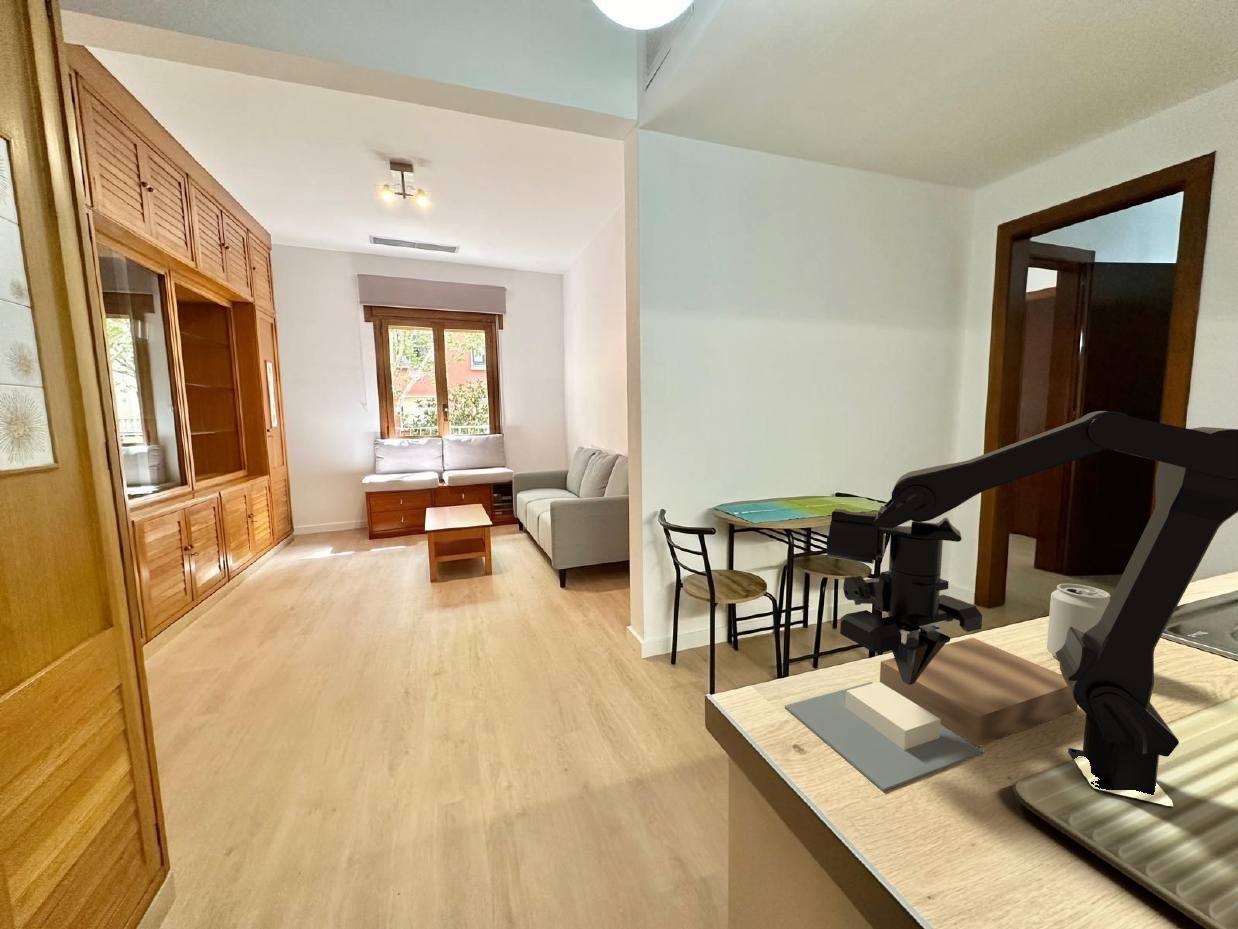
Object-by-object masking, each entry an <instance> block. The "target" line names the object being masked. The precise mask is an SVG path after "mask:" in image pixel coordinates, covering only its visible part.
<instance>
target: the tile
mask: <svg viewBox="0 0 1238 929" xmlns="http://www.w3.org/2000/svg"><path fill="white" fill-rule="evenodd" d="M846 708H847V709H848V710H850V711H851V712H852V713H854V714H855V715H857V716H858V717H859V718H861V719H862V720H863V721H865V722H866V723H868V724H869V725H870V726H872V727H873V728H875V729H876V730H877V731H879V732H880V733H881V734H883V735H884V736H886V737H887V738H888V739H890V740H891V741H892V742H894V743H895V744H897V745H898V746H899V747H901V748H902V749H904V750H906V749H909V748H912V747H914V746H917V745H920V744H923V743H926V742H929V741H932V740H934V739H937V738H940V725H941V724H940V721H941V719H940V718H938V717H936V716H935V715H933V714H931V713H930V712H928V711H927V710H925V709H923V708H922V707H920V706H918V705H917V704H915V703H913V702H912V701H910V700H909V699H907V698H905V697H904V696H902V695H900V694H899V693H897V692H895V691H894V690H892V689H890V688H889V687H887V686H886V685H884V684H882V683H881V682H880V681H876V682H872V684H869V685H865V686H861V687H858V688H854V689H850V690H847V691H846Z"/></svg>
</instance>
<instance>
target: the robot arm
mask: <svg viewBox="0 0 1238 929" xmlns="http://www.w3.org/2000/svg"><path fill="white" fill-rule="evenodd" d="M1110 450H1113V451H1116V452H1119V453H1123V454H1127V455H1130V456H1135V457H1139V458H1144V459H1147V460H1151V461H1154V462H1158V465H1157V470H1156V474H1155V507H1154V509H1153V512H1152V514H1151V516H1150V518H1149V520H1148V522H1147V524H1146V525H1145V528H1144V530H1143V533H1142V534H1141V537H1140V539H1139V540H1138V542H1137V544H1136V547H1135V549H1134V551H1133V553H1132V555H1131V556H1130V559H1129V561H1128V563H1127V564H1126V567H1125V569H1124V571H1123V572H1122V575H1121V576H1120V579H1119V581H1118V583H1117V584H1116V587H1115V589H1114V592H1113V593H1112V596H1110V598H1109V599H1110V601H1109V603H1108V605H1107V607H1106V609H1105V612H1104V614H1103V616H1102V618H1101V620H1100V621H1099V622H1098V623H1097V624H1096V625H1095V626H1094V627H1092V628H1091V629H1089V630H1088V631H1086V632H1085V633H1083V632H1081V631H1079V630H1077V629H1075V628H1073V627H1069V630H1068V632H1067V637H1066V641H1065V644H1064V645H1063V647H1062V648H1061V649H1060V650H1059V651H1057V652H1056V653H1055V654H1056V656H1057V658H1058V659H1057V660H1058V662H1059V670H1060V674H1061V675H1063V677H1064V680H1065V682H1066V684H1067V686H1068V688H1069V690H1070V692H1071V694H1072V696H1073V698H1074V700H1075V701H1076V703H1077V704H1078V706H1077V707H1078V708H1080V709H1081V710H1082V711H1083V712H1084V713H1085V714H1086V715H1085V723H1084V731H1083V732H1084V734H1083V741H1082V742H1083V743H1082V749H1079V748H1078V749H1076V748H1072V747H1069V748H1067V754H1068V755H1069V757H1070V758H1071V759H1072V760H1073V759H1075V758H1077V757H1078V756H1084V757H1086V758H1087V759H1088V760H1089V762H1090V766H1091V773H1092V774H1093V775H1095V777H1098V778H1099V779H1100V780H1099V779H1098V781H1095V783H1097V784H1099V786H1098V785H1095V787H1098V788H1099V789H1100V788H1101V789H1106V790H1136V791H1139V792H1140V791H1141V792H1143V793H1147V794H1151V795H1154V792H1155V786H1156V782H1157V779H1158V769H1159V762H1160V756H1162V757H1166V758H1167V757H1169V756H1170V755H1171V754H1172V753H1173V752H1174V750H1175V749H1176V748H1177V746H1178V745H1179V744H1180V740H1179V739H1178V738H1177V737H1176V735H1175V734H1174V732H1173V731H1172V729H1171V728H1170V726H1168V724H1167V723H1166V722H1165V721H1164V720H1165V719H1163V717H1162V716H1161V715H1160V714H1159V712H1158V711H1157V709H1156V708H1155V706H1154V705H1153V703H1152V702H1151V698H1152V694H1153V690H1154V685H1155V658H1154V656H1155V655H1154V654H1155V650H1156V647H1157V644H1158V643H1159V641H1160V639H1161V637H1163V633H1164V632H1165V629H1166V628H1167V626H1168V624H1169V622H1170V620H1171V618H1172V617H1173V614H1174V613H1175V612H1176V609H1177V608H1178V605H1179V604H1180V602H1181V600H1182V598H1183V597H1184V594H1185V592H1186V590H1187V589H1188V586H1189V584H1190V583H1191V581H1192V579H1193V577H1194V575H1195V573H1196V572H1197V569H1198V567H1199V566H1200V564H1201V562H1202V560H1203V558H1204V556H1206V555H1205V554H1206V553H1207V551H1208V549H1209V547H1210V545H1211V543H1212V541H1213V539H1214V537H1215V536H1216V534H1217V532H1218V530H1219V528H1220V527H1221V526H1222V525H1223V524H1224V523H1225V522H1226V521H1227V520H1229V519H1231V518H1232V517H1233V516H1235V515H1237V513H1238V429H1237V428H1225V427H1224V428H1223V427H1209V426H1208V427H1207V426H1199V427H1193V428H1186V427H1181V426H1177V425H1173V424H1167V423H1164V422H1163V423H1161V422H1158V421H1151V420H1147V419H1142V418H1138V417H1133V416H1129V415H1128V414H1126V413H1124V412H1120V411H1112V410H1109V411H1108V410H1107V411H1106V410H1097V411H1093V412H1089V413H1086V414H1085V415H1084V416H1082V417H1080V418H1078V419H1076V420H1074V421H1071V422H1068V423H1066V424H1063V425H1060V426H1058V427H1055V428H1052V429H1049V430H1047V431H1044V432H1041V433H1038V434H1035V435H1033V436H1030V437H1028V438H1024V439H1022V440H1020V441H1017V442H1014V443H1011V444H1009V445H1006V446H1003V447H1000V448H998V449H995V450H993V451H990V452H987V453H984V454H982V455H980V456H976V457H974V458H971V459H969V460H964V461H960V462H953V463H948V464H947V463H946V464H942V465H936V466H931V467H927V468H922V469H916V470H912V471H909V472H906V473H905V474H902V475H901V476H900V477H899V478H898V479H897V481H896V483H895V485H894V487H893V490H892V492H891V498H890V499H889V500H888V501H887V502H886V503H885V504H884V505H881V506H880V507H879V510H878V511H877V513H869V512H868V513H867V512H858V511H857V512H856V511H849V510H846V509H839V508H835V509H834V510H832V512H831V520H830V524H829V529H828V535H827V536H826V554H827V557H828V558H830V559H838V560H843V561H851V562H856V563H857V562H858V563H866V564H872V565H873V564H874V563H875V561H878V557H879V558H884V557H885V548H886V547H885V546H886V535H889V536H890V537H889V538H890V539H889V556H888V557H889V559H888V560H889V561H888V562H889V563H888V570H884V571H881V572H880V573H879V575H878V577H877V578H868V579H864V577H863V576H862V575H856V576H855V575H852V576H845V577H844V579H843V587H842V589H843V594H844V597H845V599H846V600H847V601H853V602H854V605H855V606H860V605H862V604H864V605H865V604H866V605H867V604H868V605H869V604H870V605H871V604H872V605H874V609H875V610H877V611H880V612H882V613H883V612H886V613H887V616H885V617H882V616H879V615H878V614H875V613H874V612H871V611H869V610H867V609H865V610H859V611H856V612H850V613H846V614H844V615H842V616H841V617H840V631H839V634H840V635H841V636H843V637H845V638H847V639H849V640H851V641H853V642H854V643H856V644H858V645H859V646H862V647H863V648H865V649H866V650H868V651H870V652H872V653H876V654H877V653H878V654H882V653H886V652H892V655H893V658H895V661H896V664H897V667H898V670H899V672H900V675H901V678H902V681H903V682H904V683H906V684H908V685H911V684H914V683H915V682H916V680H917V679H918V678H919V676H920V675H921V674H922V672H923V671H924V669H925V668H926V667H927V665H928V664H929V663H930V662H931V660H932V659H933V658H934V657H935V655H936V654H937V653H938V652H939V651H940V649H941V648H942V647H943V646H944V645H946V644H948V643H949V642H950V641H951V637H950V636H948V635H946V634H944V633H942V632H941V627H939V625H940V624H944V623H945V624H946V623H949V622H953V620H957V621H958V622H959V627H960V628H961V630H963V631H964V632H966V633H969V632H970V633H971V632H973V631H977V630H982V627H983V624H982V623H983V615H982V613H981V612H980V610H979V609H978V607H977V606H976V605H973V604H971V603H968V602H965V601H961V600H960V599H957V598H954V597H951V596H948V595H946V594H941V591H945V590H948V589H949V580H946V579H943V578H942V577H941V576H942V575H941V574H942V573H941V572H942V559H943V557H942V556H943V544H944V543H943V542H944V541H948V542H957V543H959V542H961V541H962V539H963V538H962V534H961V531H960V530H959V529H958V528H956V527H955V526H954V525H952V523H951V522H950V520H949V518H947V517H944V518H942V520H940V521H939V522H936V523H935V522H928V521H932V520H934V519H936V518H938V517H940V516H942V515H944V514H946V513H947V512H950V511H951V510H953V509H957V507H959V506H961V505H963V504H964V503H966V502H967V501H969V500H970V499H972V498H974V497H975V496H977V495H979V494H981V493H983V492H985V491H987V490H990V489H993V488H996V487H999V486H1002V485H1005V484H1008V483H1011V482H1014V481H1018V480H1020V479H1023V478H1026V477H1029V476H1032V475H1033V476H1034V475H1036V474H1039V473H1041V472H1044V471H1047V470H1050V469H1053V468H1056V467H1059V466H1062V465H1065V464H1069V463H1071V462H1075V461H1077V460H1081V459H1083V458H1087V457H1089V456H1093V455H1094V454H1098V453H1101V452H1104V451H1105V452H1106V451H1110ZM910 521H911V524H910V525H911V526H909V525H908V526H906V525H905V526H904V525H903V524H905V523H908V522H910ZM902 525H903V526H902ZM940 594H941V595H940ZM950 643H951V642H950ZM1093 782H1094V781H1093ZM1093 782H1091V784H1093V785H1094V783H1093Z"/></svg>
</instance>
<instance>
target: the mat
mask: <svg viewBox="0 0 1238 929" xmlns="http://www.w3.org/2000/svg"><path fill="white" fill-rule="evenodd" d="M872 683H873V682H872V681H869V682H866V683H863V684H862V683H861V684H859V685H855V686H852V687H847V688H845V689H839V690H837V691H834V692H830V693H827V694H826V693H825V694H822V695H819V696H815V697H811V698H808V699H805V700H801V701H796V702H794V703H790V704H785V705H784V709H785V710H786V711H788V712H789V713H790V714H791V715H792V716H794V717H795V718H796V719H797V720H798V721H800V722H801V723H802V724H803V725H804V726H805V727H807V728H808V729H809V730H810V731H811V732H812V733H814V734H815V735H816V736H817V737H818V738H820V739H821V740H822V741H823V743H825V744H826V745H828V746H829V747H830V748H831V749H832V750H834V751H835V752H836V753H837V754H839V756H841V757H842V758H843V759H844V760H845V761H846V762H848V763H849V764H850V765H851V766H853V767H854V768H855V770H857V771H858V772H859V773H860V774H862V775H863V776H864V777H865V778H866V779H868V780H869V781H870V782H871V783H873V785H875V786H876V787H877V788H878V789H879V790H881V791H882V792H886V791H887V790H891V789H894V788H897V787H898V786H901V785H905V784H907V783H909V782H911V781H914V780H917V779H920V778H923V777H925V776H928V775H930V774H933V773H936V772H938V771H940V770H944V769H946V768H948V767H951V766H953V765H956V764H960V763H961V762H965V761H966V760H970V759H972V758H975V757H978V756H980V755H982V754H984V751H983V750H982V749H980V748H979V747H976V746H974V745H973V744H971V743H970V742H968V741H966V740H965V739H963V738H962V737H960V736H958V735H957V734H955V733H953V732H952V731H950V730H949V729H947V728H945V727H944V726H942V725H941V724H940V738H937V739H934V740H932V741H929V742H926V743H923V744H920V745H917V746H914V747H912V748H909V749H906V750H904V749H902V748H901V747H899V746H898V745H897V744H895V743H894V742H892V741H891V740H890V739H888V738H887V737H886V736H884V735H883V734H881V733H880V732H879V731H877V730H876V729H875V728H873V727H872V726H870V725H869V724H868V723H866V722H865V721H863V720H862V719H861V718H859V717H858V716H857V715H855V714H854V713H852V712H851V711H850V710H848V709H847V708H846V691H847V690H850V689H854V688H858V687H861V686H865V685H869V684H872Z"/></svg>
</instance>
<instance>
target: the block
mask: <svg viewBox="0 0 1238 929" xmlns="http://www.w3.org/2000/svg"><path fill="white" fill-rule="evenodd" d="M879 669H880V670H879V682H881V683H882V684H884V685H886V686H887V687H889V688H890V689H892V690H894V691H895V692H897V693H899V694H900V695H902V696H904V697H905V698H907V699H909V700H910V701H912V702H913V703H915V704H917V705H918V706H920V707H922V708H923V709H925V710H927V711H928V712H930V713H931V714H933V715H935V716H936V717H938V718H940V719H941V721H940V725H942V726H943V727H945V728H947V729H948V730H950V731H951V732H953V733H955V734H956V735H958V736H959V737H961V738H963V739H964V740H966V741H967V742H969V743H971V744H972V745H974V746H976V747H977V748H979V747H981V746H984V745H987V744H990V743H992V742H995V741H997V740H1000V739H1003V738H1006V737H1009V736H1011V735H1013V734H1016V733H1019V732H1021V731H1025V730H1027V729H1030V728H1033V727H1035V726H1037V725H1041V724H1043V723H1046V722H1049V721H1051V720H1054V719H1056V718H1059V717H1062V716H1065V715H1067V714H1070V713H1072V712H1075V711H1078V707H1079V706H1078V704H1077V703H1076V701H1075V700H1074V698H1073V696H1072V694H1071V692H1070V690H1069V688H1068V686H1067V684H1066V682H1065V680H1064V677H1063V675H1062V673H1059V672H1056V671H1054V670H1051V669H1049V668H1046V667H1044V666H1041V665H1039V664H1037V663H1035V662H1033V661H1030V660H1028V659H1025V658H1022V657H1020V656H1018V655H1015V654H1013V653H1010V652H1008V651H1006V650H1005V649H1001V648H999V647H996V646H994V645H991V644H989V643H986V642H984V641H982V640H980V639H977V638H975V637H969V638H966V639H963V640H958V641H954V642H950V643H946V644H945V645H944V646H943V647H942V648H941V649H940V651H939V652H938V653H937V654H936V655H935V657H934V658H933V659H932V660H931V662H930V663H929V664H928V665H927V667H926V668H925V669H924V671H923V672H922V674H921V675H920V676H919V678H918V679H917V680H916V682H915V683H914V684H911V685H908V684H906V683H904V682H903V681H902V678H901V675H900V672H899V670H898V667H897V664H896V661H895V658H894V657H892V658H889V659H885V660H884V659H883V660H881V661H880V667H879Z"/></svg>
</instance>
